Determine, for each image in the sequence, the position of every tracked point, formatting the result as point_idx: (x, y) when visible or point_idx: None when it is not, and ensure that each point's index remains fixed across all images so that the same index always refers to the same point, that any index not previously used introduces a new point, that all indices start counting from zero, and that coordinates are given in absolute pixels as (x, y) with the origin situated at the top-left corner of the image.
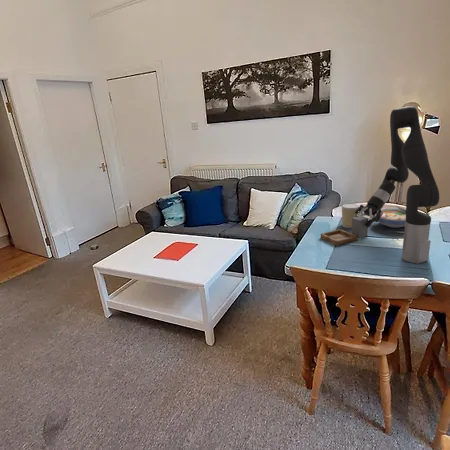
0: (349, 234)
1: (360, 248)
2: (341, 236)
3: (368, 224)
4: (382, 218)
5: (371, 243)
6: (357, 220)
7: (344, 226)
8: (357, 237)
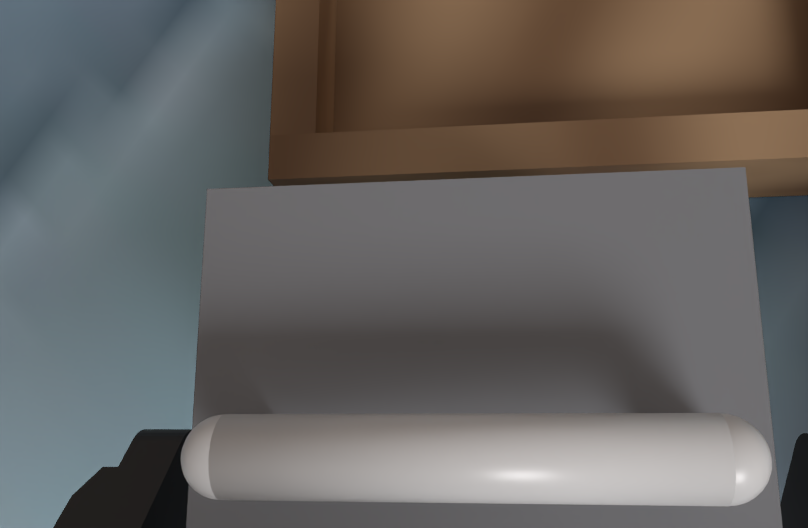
0: (490, 129)
1: (20, 22)
2: (605, 33)
3: (83, 502)
4: None
5: (45, 339)
6: (385, 198)
7: None
8: (276, 183)
